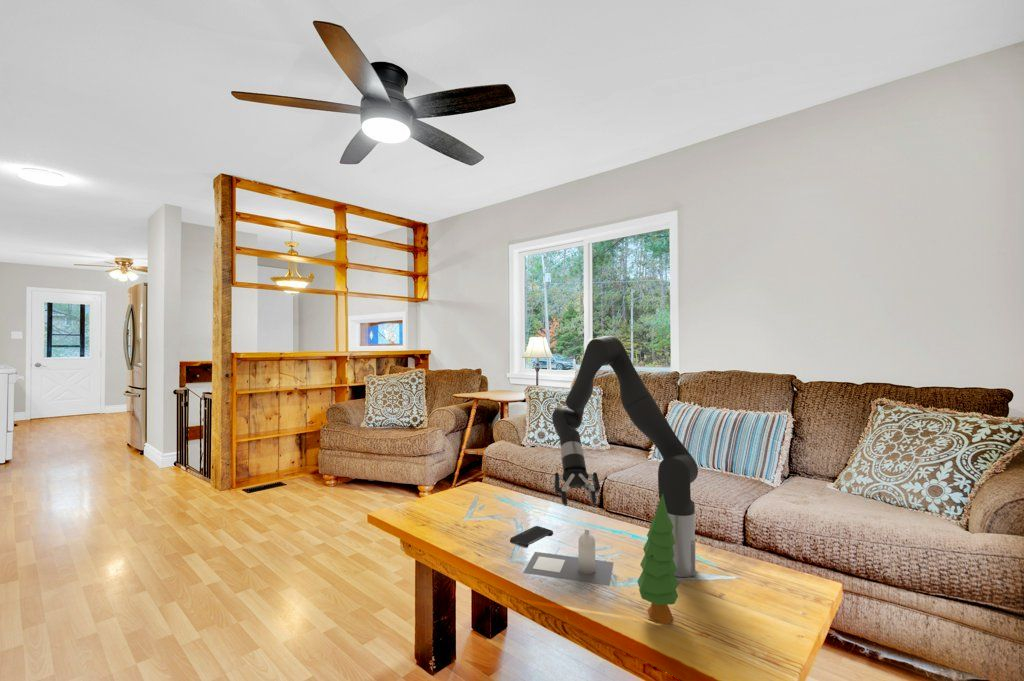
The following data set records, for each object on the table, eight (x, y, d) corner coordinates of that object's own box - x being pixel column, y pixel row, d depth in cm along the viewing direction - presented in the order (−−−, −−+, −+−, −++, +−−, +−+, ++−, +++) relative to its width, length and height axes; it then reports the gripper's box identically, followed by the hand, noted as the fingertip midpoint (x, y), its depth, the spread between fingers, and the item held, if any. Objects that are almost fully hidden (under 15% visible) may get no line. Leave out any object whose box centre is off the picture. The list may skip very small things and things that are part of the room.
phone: (554, 531, 163) (527, 545, 151) (554, 534, 163) (527, 548, 151) (536, 525, 168) (508, 538, 156) (536, 528, 168) (508, 541, 156)
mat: (613, 564, 140) (613, 561, 140) (609, 587, 126) (609, 585, 126) (535, 553, 147) (535, 551, 147) (523, 574, 133) (523, 572, 133)
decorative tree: (672, 632, 107) (672, 500, 107) (631, 620, 112) (631, 493, 112) (681, 612, 115) (681, 489, 115) (642, 600, 120) (643, 483, 120)
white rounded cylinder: (596, 567, 137) (596, 527, 137) (594, 574, 132) (594, 533, 132) (579, 564, 138) (579, 525, 138) (577, 572, 134) (577, 531, 134)
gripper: (552, 452, 155) (558, 499, 143) (595, 452, 155) (604, 498, 144) (550, 464, 160) (555, 510, 148) (592, 464, 161) (600, 509, 149)
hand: (579, 504), depth 146 cm, fingers open, 8 cm apart
